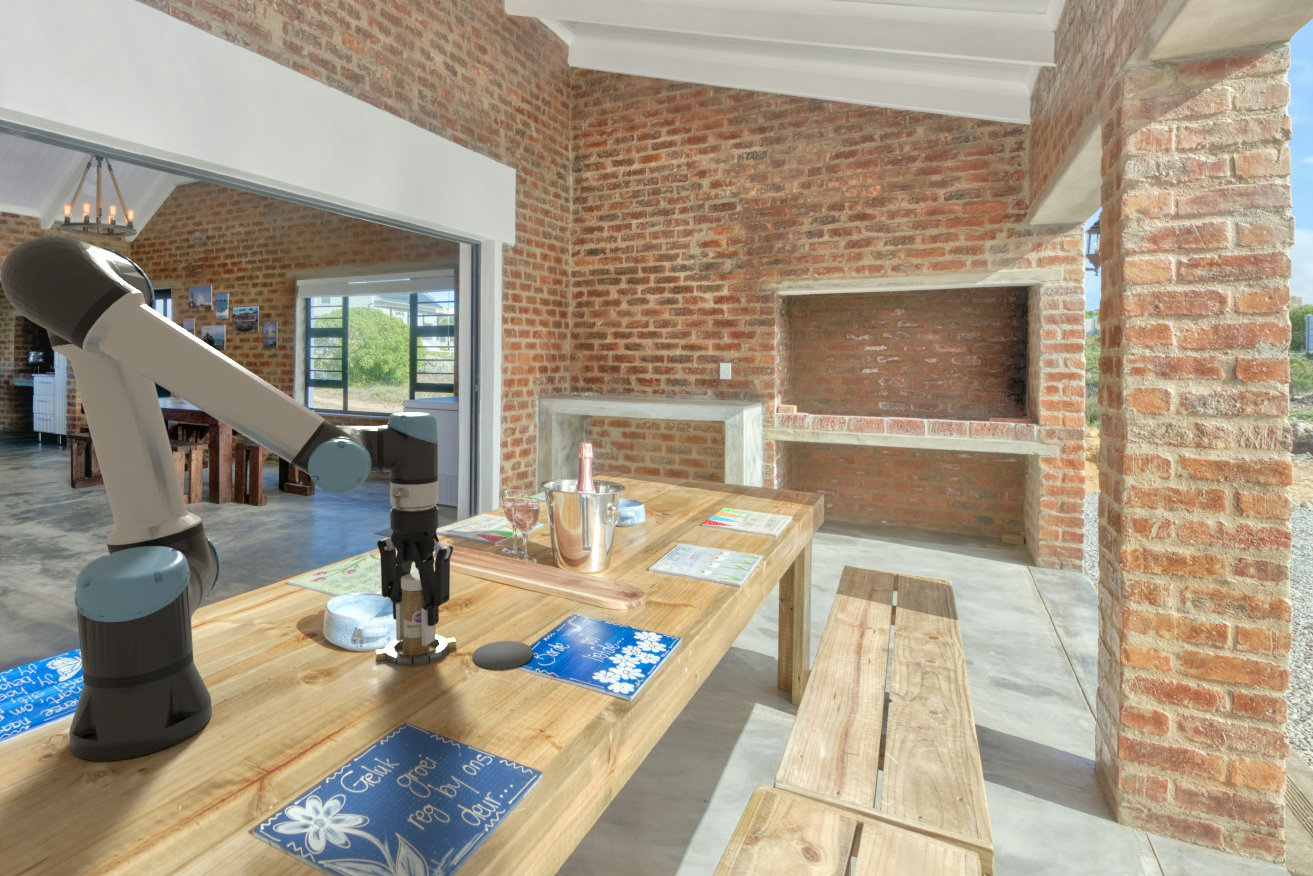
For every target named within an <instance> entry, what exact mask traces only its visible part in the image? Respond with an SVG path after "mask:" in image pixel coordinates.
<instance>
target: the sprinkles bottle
mask: <svg viewBox="0 0 1313 876" xmlns="http://www.w3.org/2000/svg"><path fill="white" fill-rule="evenodd" d="M401 588H402V635H403V647H402V648H401V649H402V650H401V652H402V653H401V654H403V655H417V654H423V653H427V652H430V651H431V650H430V648H431V646H430V644H428V645H427V646H422V634H421V608H422V607H423V606H425V601H424V596H423V591H422V586H421V581H420V576H419V571H418V572H417V571H416V572H410V573H409V574H406V575H404V576H402V577H401Z"/></svg>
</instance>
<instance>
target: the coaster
mask: <svg viewBox="0 0 1313 876" xmlns="http://www.w3.org/2000/svg"><path fill="white" fill-rule="evenodd" d="M533 653H534V651H533V648H532V647H531V646H529V645H528V644H526V643H523V642H520V641H515V640H514V641H512V640H502V641H501V640H499V641H494V642H490V643H486V644H483V645H482V646H481V645H480V646H479V647H478V648H476V649H475V650H474V652H473V653H472V661H473V663H474V664H475V665H477V666H478V667H480V668H484V669H489V670H506V669H507V670H508V669H513V668H516V667H520V666H523V665H524V664H526V663H528V662H529V661H531V660H532V658H533V655H534V654H533Z"/></svg>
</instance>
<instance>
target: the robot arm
mask: <svg viewBox="0 0 1313 876" xmlns="http://www.w3.org/2000/svg"><path fill="white" fill-rule="evenodd" d="M0 283H1V288H2V291H3V292H4V295H5V298H6V299H7V300H8V302H9V303H10V305H11V306H12V307H13V308H14V309H15V310H16V311H17V312H19V313H20V314H21V315H22V316H23V317H25V318H26V319H27V320H28V321H31V322H32V323H35V324H36V325H37V326H40V327H41V328H44V329H45V330H46V332H47V336H48V339H49V343H50V347H51V348H52V351H54V352H56V353H58V354H60V355H61V356H63V357H64V358H67V359H68V361H70V364H71V367H72V368H71V369H72V371H73V375H74V379H75V382H76V386H77V390H78V394H79V397H80V400H81V401H80V402H81V403H82V404H81V405H82V408H83V411H84V414H85V418H86V419H85V420H86V422H87V426H88V430H89V433H90V437H91V440H92V445H93V447H94V448H93V449H94V452H95V455H96V458H97V462H98V466H99V470H100V473H101V476H102V480H103V485H104V488H105V492H106V496H107V499H108V503H109V506H110V510H111V513H112V518H113V521H114V524H115V526H114V529H113V530H112V532H110V534H109V535H108V537H107V538H106V539H105V542H106V546H107V550H108V554H109V555H108V554H107V555H102V556H100V557H97V558H96V559H94V560H91V561H90V562H89V563H88V564H86V565H85V566H84V567H83V568H82V569H81V570H80V571H79V573H78V575H77V577H76V581H75V582H76V583H75V585H76V587H75V592H74V603H75V607H76V612H77V613H76V615H77V625H78V636H79V637H78V638H79V646H80V647H79V648H80V659H81V668H82V669H81V670H82V679H83V687H82V691H81V693H80V697H79V699H78V702H77V706H76V709H75V711H74V715H73V718H72V721H71V723H70V727H69V734H68V735H69V736H68V737H69V745H70V746H69V747H70V751H71V753H72V754H73V755H74V756H76V757H77V758H80V759H83V760H87V761H93V762H97V761H98V762H110V761H121V760H126V759H127V760H128V759H133V758H137V757H141V756H145V755H150V754H152V753H155V752H159V751H162V750H163V749H167V748H169V747H172V746H174V745H176V744H178V743H180V742H182V741H184V740H186V739H189V738H190V737H191V736H193V735H194V734H196V733H197V732H199V731H200V730H202V729H203V728H204V727H205V726H206V725H207V724H208V723H209V721H210V720H211V717H212V714H213V710H212V709H213V707H212V697H211V695H210V692H209V690H208V688H207V685H206V684H205V682H204V680H203V678H202V676H201V675H200V673H199V670H198V669H197V666H196V664H195V663H194V662H195V661H194V649H193V647H194V645H193V643H194V642H193V630H192V618H193V617H192V616H193V615H194V613H195V612H196V611H197V609H198V608H199V607H200V606H201V605H202V603H203V601H204V600H205V599H206V598H208V596H209V595H210V593H212V591H213V590H214V588H215V586H216V584H217V582H218V579H219V575H220V572H221V571H220V570H221V556H220V554H219V553H220V552H219V550H218V548H217V547H216V545H215V544H214V542H213V541H212V540H211V539H210V538H209V537H208V536H206V532H205V529H204V524H203V520H202V518H201V517H200V516H199V515H196V514H194V513H192V512H190V511H189V510H188V509H187V506H186V502H185V498H184V493H183V490H182V486H181V481H180V478H179V475H178V469H177V466H176V462H175V459H174V458H175V457H174V454H173V451H172V446H171V442H170V439H169V434H168V430H167V427H166V423H165V419H164V415H163V411H162V408H161V403H160V400H159V396H158V391H157V388H156V385H158V386H160V387H161V388H163V389H165V390H167V391H168V392H170V393H171V394H174V395H175V396H177V397H179V398H180V399H182V400H184V401H185V402H187V403H188V404H190V405H192V406H193V407H195V408H197V409H199V410H201V411H202V412H204V413H206V414H207V415H209V416H210V417H212V418H214V419H215V420H216V421H219V422H221V423H222V424H224V425H226V426H228V427H229V428H230V429H233V430H234V431H236V432H237V433H238V434H241V435H242V436H244V437H246V438H248V439H249V440H251V441H253V442H254V443H256V444H257V445H259V446H261V447H262V448H264V449H266V450H268V451H269V452H271V453H273V454H274V455H276V456H278V457H279V458H281V459H283V460H285V461H286V462H288V463H290V464H292V465H293V466H294V467H296V468H297V469H299V471H302V472H304V473H305V474H307V475H309V477H310V479H311V480H312V482H313V483H314V484H315V485H316V487H318V488H319V489H321V490H322V491H324V492H326V493H330V494H336V495H337V494H339V495H340V494H348V493H350V492H352V491H354V490H356V489H358V488H359V487H360V486H361V485H362V484H363V483H365V481H366V480H367V478H368V476H369V475H370V473H384V472H389V503H390V505H391V506H392V507H391V509H390V510H389V511H390V513H389V514H390V517H389V520H390V523H389V524H390V529H391V531H392V534H391V535H390V536H389V537H386V538H382V539H379V540H378V541H377V542H376V544H377V547H378V548H377V549H378V551H379V553H380V576H381V577H380V579H381V580H380V581H381V595H382V597H383V598H389V600H390V601H391V602H392V617H393V620H395V633H396V634H395V635H396V638H395V639H396V641H401V640H403V635H402V588H401V577H402V576H404V575H406V574H409V573H411V572H412V571H411V570H412V566H413V563H414V566H415V569H417V570H418V572H419V576H420V581H421V586H422V591H423V596H424V601H425V606H423V607H422V608H421V634H422V646H427V645H428V644H429V645H430V643H431V642H433V641H435V634H436V625H438V624H439V621H440V617H439V616H440V615H439V612H440V610H439V609H440V608H439V607H440V606H442V605H444V604H446V603H448V602H450V595H451V594H450V592H451V591H450V588H451V587H450V585H451V584H450V583H451V581H450V580H451V579H450V577H451V574H450V573H451V558H452V554H453V552H454V548H453V545H452V544H451V545H450V544H449V545H447V546H446V545H445V544H443V543H441V542H439V541H440V539H439V537H438V535H437V531H438V528H439V508H438V507H439V506H437V504H438V503H439V480H438V479H439V478H438V477H439V476H438V474H439V471H438V470H439V468H438V467H439V438H438V423H437V418H436V416H434V415H433V414H431V413H429V412H418V411H415V412H414V411H413V412H411V411H406V412H394V413H391V414H389V417H388V422H387V424H383V425H335V424H333V423H332V422H329V421H328V420H326V419H325V418H324V417H322V416H320V414H318V413H316V412H314V411H313V410H311V409H310V408H308V407H306V406H305V405H304V404H302V403H300V402H299V401H297V400H295V399H294V398H292V397H291V396H290V395H287V394H286V393H285V392H283V391H281V390H280V389H278V388H276V387H275V386H274V385H273V384H271V383H269V382H267V380H264V379H262V378H261V377H260V376H258V375H256V374H255V373H254V372H252V371H250V370H248V369H247V368H245V367H244V366H242V365H241V364H239V363H238V362H236V361H235V360H234V359H233V360H232V359H231V358H230V357H228V356H226V355H225V354H224V353H222V352H220V351H219V350H217V349H215V348H214V347H213V346H211V345H209V344H208V343H207V342H205V341H203V340H201V339H200V338H198V337H196V336H195V335H194V334H192V333H191V332H189V331H188V330H187V329H184V328H183V327H181V326H180V325H178V324H176V323H175V322H173V321H171V319H169V318H167V317H165V316H163V315H162V314H160V313H159V312H158V311H156V310H155V309H154V307H155V300H156V299H155V298H156V297H155V291H154V288H153V285H152V282H151V280H150V278H149V277H148V275H147V274H146V273H145V271H144V270H143V269H142V268H140V267H139V265H138V264H136V263H135V262H134V261H133V260H131V259H130V258H128V257H127V256H125V255H123V254H121V253H120V252H118V251H117V250H116V251H115V250H114V249H113V250H112V249H111V248H107V247H103V246H100V245H99V246H98V245H93V244H91V243H88V242H85V241H83V240H80V239H77V238H73V237H70V236H63V235H41V236H37V237H33V238H30V239H28V240H25V241H23V242H21V243H19V244H17V245H16V246H15V247H14V248H12V250H10V252H9V253H7V255H6V257H5V259H4V260H3V262H2V265H1V268H0Z"/></svg>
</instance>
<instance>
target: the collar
mask: <svg viewBox="0 0 1313 876" xmlns="http://www.w3.org/2000/svg"><path fill="white" fill-rule="evenodd" d="M430 644H431V645H433V646H436V648H435V649H432V650H429V651H428V652H427V653H423V654H417V655H403V653H400V652H398V650H399V649H403V640H401V641H396V638H394V639H393V640H390V642H389V643H387V645H385V647H384V648H381V649H380V648H379V649H375V658H376V661H377V662H379V661H385V660H386V661H387V662H389V663H391V664H393V665H397V666H405V667H412V666H415V667H416V666H420V665H425V664H429V663H433V662H436V661H437V660H439V659H442V658H444V656H445V655H447V653H448V651H449V650H450V649H455V648H456V649H457V640H456V638H455V637H449V638H446V637H445V636H442V635H439V634H438V633H437V634H436V633H435V641H433V642H431V643H430ZM430 644H429V645H430Z"/></svg>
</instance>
